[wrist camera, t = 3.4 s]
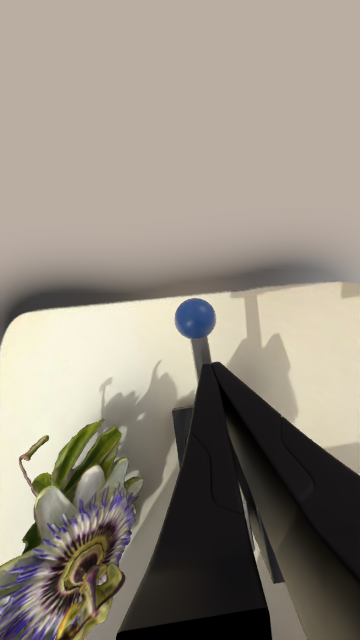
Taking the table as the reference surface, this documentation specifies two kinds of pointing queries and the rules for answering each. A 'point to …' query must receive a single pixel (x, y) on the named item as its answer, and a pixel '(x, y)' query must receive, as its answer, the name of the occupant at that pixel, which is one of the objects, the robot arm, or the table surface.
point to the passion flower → (70, 543)
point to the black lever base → (181, 432)
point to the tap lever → (201, 347)
